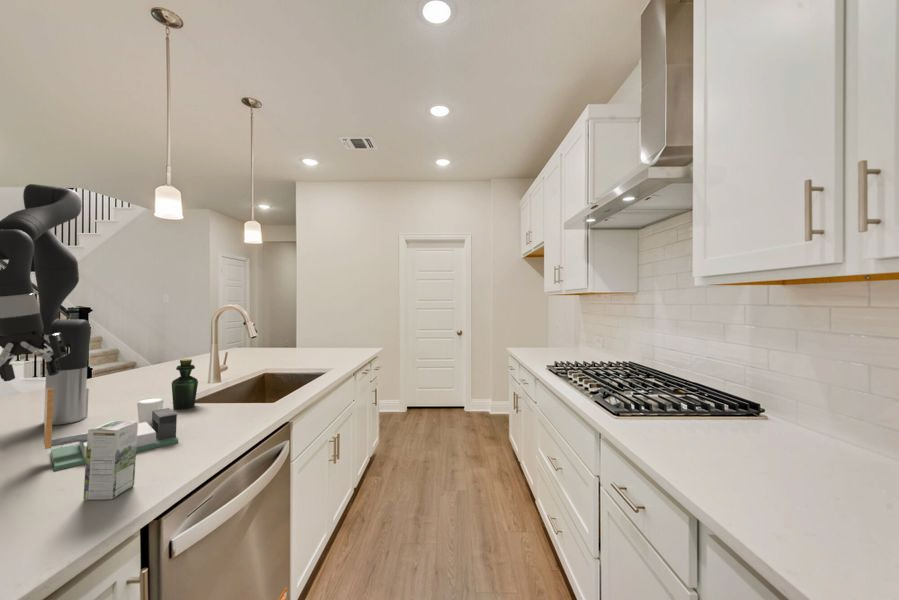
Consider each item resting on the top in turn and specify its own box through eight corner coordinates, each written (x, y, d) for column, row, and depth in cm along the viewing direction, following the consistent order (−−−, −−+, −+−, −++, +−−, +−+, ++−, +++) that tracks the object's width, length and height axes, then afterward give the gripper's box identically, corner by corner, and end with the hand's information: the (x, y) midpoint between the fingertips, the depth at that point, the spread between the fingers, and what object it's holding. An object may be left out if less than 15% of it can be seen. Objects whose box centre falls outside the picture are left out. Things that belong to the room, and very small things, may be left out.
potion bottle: (196, 408, 134) (198, 360, 135) (169, 411, 130) (171, 362, 130) (197, 403, 141) (199, 357, 141) (171, 405, 137) (173, 358, 137)
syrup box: (107, 486, 79) (109, 420, 79) (135, 486, 79) (138, 420, 79) (82, 500, 73) (85, 429, 73) (113, 500, 73) (116, 429, 74)
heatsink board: (54, 470, 85) (55, 438, 85) (51, 453, 94) (52, 424, 94) (178, 442, 103) (179, 416, 103) (165, 430, 112) (166, 406, 112)
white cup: (131, 422, 118) (132, 401, 118) (155, 416, 124) (156, 396, 124) (144, 425, 115) (145, 404, 115) (167, 419, 122) (168, 399, 122)
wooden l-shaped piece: (44, 449, 86) (47, 392, 86) (43, 442, 90) (46, 388, 90) (115, 435, 96) (117, 384, 96) (111, 430, 100) (113, 380, 100)
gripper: (64, 308, 92) (78, 368, 95) (-9, 314, 88) (7, 376, 91) (42, 313, 85) (57, 378, 88) (-39, 319, 81) (-21, 387, 83)
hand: (32, 377), depth 89 cm, fingers open, 8 cm apart
